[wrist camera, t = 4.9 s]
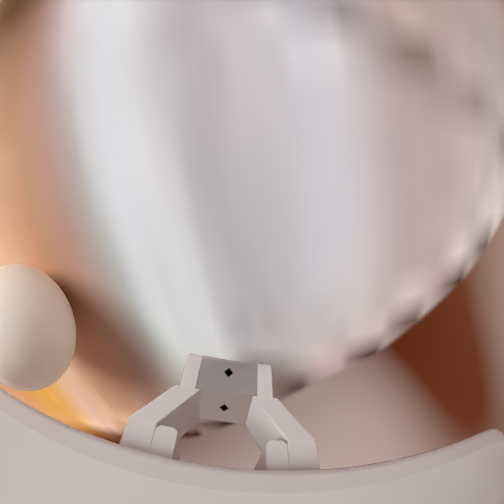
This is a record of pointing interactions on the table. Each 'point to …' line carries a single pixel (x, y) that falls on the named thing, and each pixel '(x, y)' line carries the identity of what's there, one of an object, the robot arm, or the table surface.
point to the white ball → (33, 329)
